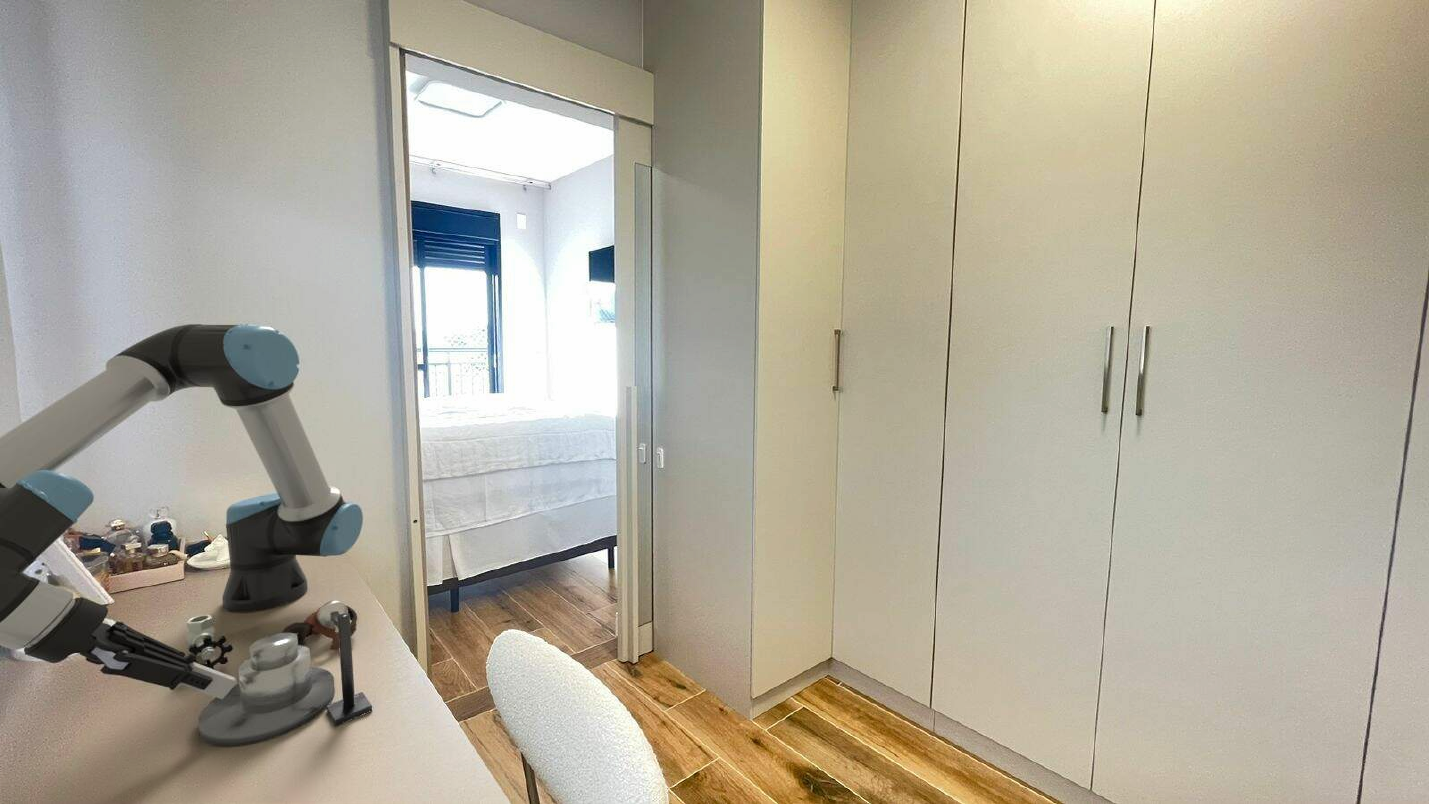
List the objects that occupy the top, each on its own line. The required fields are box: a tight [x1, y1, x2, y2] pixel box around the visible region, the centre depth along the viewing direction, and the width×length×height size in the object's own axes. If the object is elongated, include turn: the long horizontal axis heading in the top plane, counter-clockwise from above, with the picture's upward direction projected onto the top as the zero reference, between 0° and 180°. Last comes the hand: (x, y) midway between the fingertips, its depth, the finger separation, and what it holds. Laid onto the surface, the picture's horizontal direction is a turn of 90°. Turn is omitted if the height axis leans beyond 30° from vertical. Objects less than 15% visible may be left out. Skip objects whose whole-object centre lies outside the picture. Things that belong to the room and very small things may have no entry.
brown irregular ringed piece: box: [281, 605, 358, 651], centre depth 109 cm, size 12×10×8 cm
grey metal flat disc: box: [197, 666, 336, 748], centre depth 91 cm, size 17×17×2 cm
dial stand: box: [318, 599, 373, 727], centre depth 91 cm, size 10×5×16 cm, turn 47°
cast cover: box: [238, 632, 312, 714], centre depth 91 cm, size 9×9×9 cm
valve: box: [185, 614, 234, 670], centre depth 104 cm, size 7×7×12 cm
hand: (229, 688), depth 87 cm, fingers closed
